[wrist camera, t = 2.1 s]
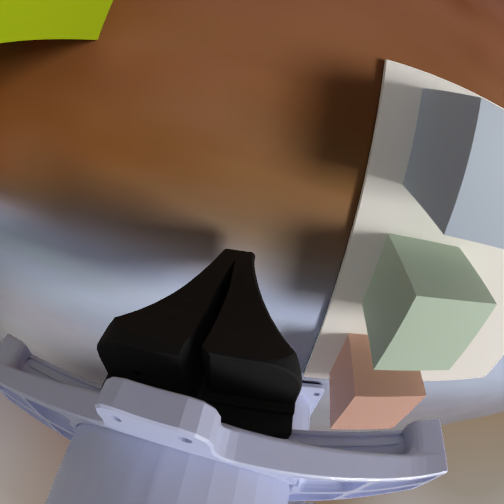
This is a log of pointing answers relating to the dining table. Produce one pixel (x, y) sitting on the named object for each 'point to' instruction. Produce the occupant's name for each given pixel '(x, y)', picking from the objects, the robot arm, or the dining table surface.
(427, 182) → the slate block
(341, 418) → the terracotta block
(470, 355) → the mat
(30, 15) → the puzzle toy
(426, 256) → the sage block
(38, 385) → the robot arm
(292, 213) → the dining table surface
